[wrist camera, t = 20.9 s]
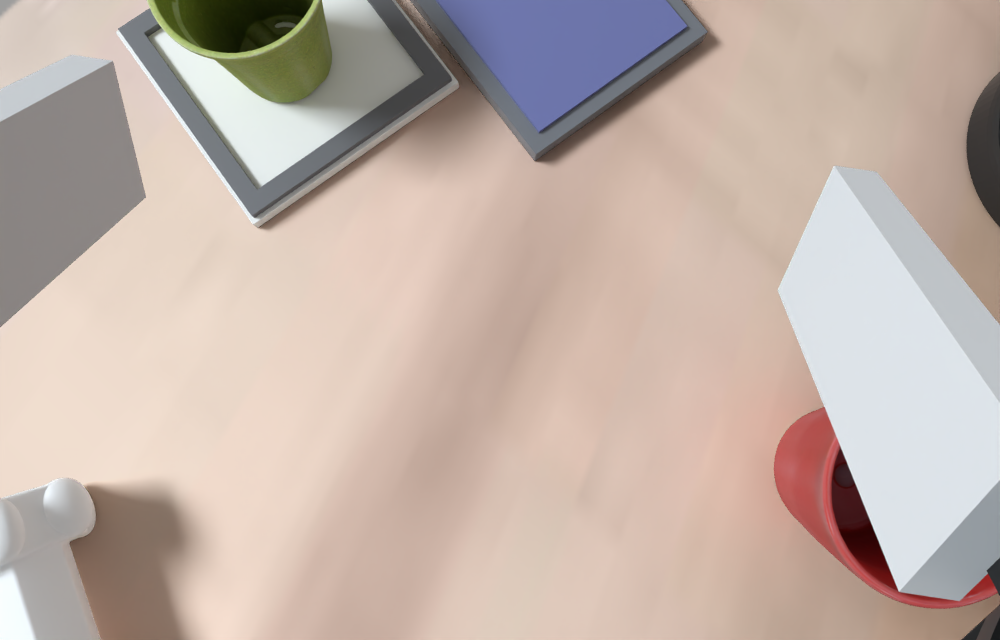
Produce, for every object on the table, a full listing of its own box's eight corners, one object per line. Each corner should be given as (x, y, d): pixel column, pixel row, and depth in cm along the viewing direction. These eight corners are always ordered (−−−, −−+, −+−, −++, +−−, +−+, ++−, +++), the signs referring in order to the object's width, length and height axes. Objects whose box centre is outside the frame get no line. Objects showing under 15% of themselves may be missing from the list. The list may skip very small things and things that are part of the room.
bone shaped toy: (-5, 516, 41) (-141, 549, 33) (120, 462, 41) (13, 483, 33) (71, 756, 40) (-54, 853, 31) (202, 702, 39) (110, 787, 31)
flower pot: (936, 553, 41) (1073, 599, 31) (758, 568, 40) (840, 620, 31) (909, 379, 42) (1032, 372, 32) (736, 393, 42) (808, 390, 32)
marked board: (321, -92, 46) (316, -106, 44) (459, 87, 44) (457, 78, 43) (122, 39, 44) (111, 28, 43) (257, 227, 43) (250, 222, 42)
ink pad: (575, -113, 46) (577, -130, 44) (701, 41, 45) (709, 29, 43) (409, -1, 45) (406, -15, 43) (534, 161, 43) (536, 152, 42)
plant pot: (211, -4, 44) (142, -103, 35) (355, -13, 44) (321, -114, 35) (214, 132, 43) (144, 64, 34) (362, 122, 43) (328, 52, 34)
